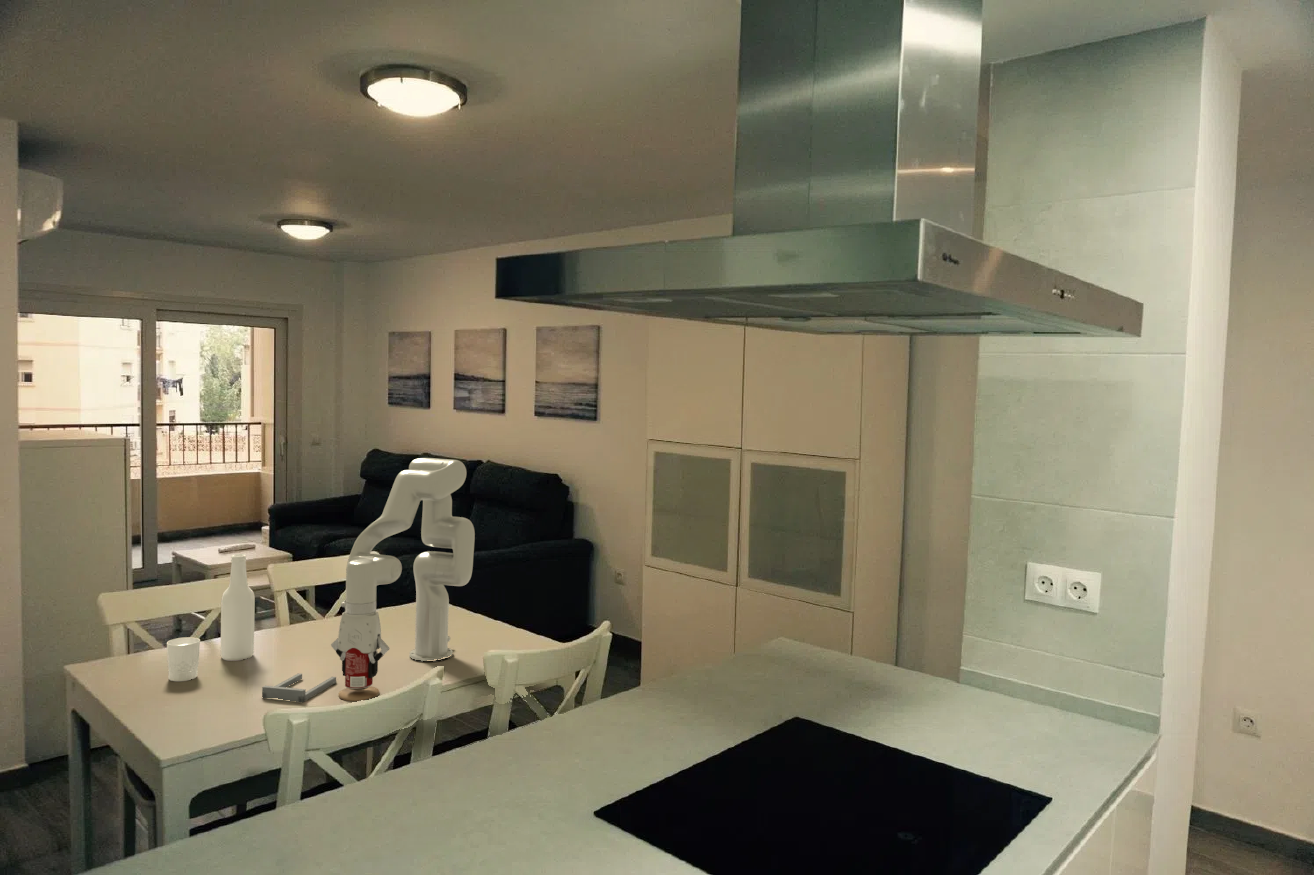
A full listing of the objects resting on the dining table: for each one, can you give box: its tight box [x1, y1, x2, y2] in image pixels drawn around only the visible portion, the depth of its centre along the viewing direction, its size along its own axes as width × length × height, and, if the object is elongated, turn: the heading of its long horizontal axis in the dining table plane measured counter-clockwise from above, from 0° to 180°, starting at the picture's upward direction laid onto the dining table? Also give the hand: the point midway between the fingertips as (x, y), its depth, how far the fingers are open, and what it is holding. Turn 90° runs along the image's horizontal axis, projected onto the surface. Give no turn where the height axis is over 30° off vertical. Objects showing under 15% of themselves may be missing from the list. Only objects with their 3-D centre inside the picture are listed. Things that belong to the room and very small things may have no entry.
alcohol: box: [220, 553, 256, 662], centre depth 251 cm, size 9×9×30 cm
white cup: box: [166, 636, 201, 682], centre depth 232 cm, size 8×8×10 cm
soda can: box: [344, 648, 374, 690], centre depth 224 cm, size 7×7×12 cm
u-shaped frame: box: [261, 673, 337, 703], centre depth 226 cm, size 16×11×3 cm
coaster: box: [337, 685, 380, 702], centre depth 224 cm, size 10×10×1 cm
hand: (359, 674), depth 224 cm, fingers closed on soda can, 6 cm apart
